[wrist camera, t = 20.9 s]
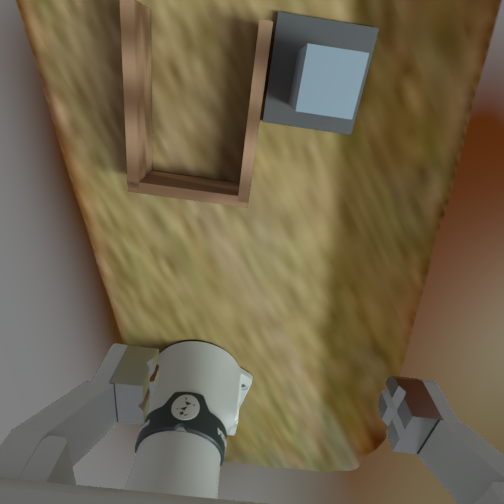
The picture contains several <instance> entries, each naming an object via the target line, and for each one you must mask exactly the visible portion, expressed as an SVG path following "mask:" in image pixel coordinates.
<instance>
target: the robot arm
mask: <svg viewBox="0 0 504 504" xmlns="http://www.w3.org/2000/svg"><path fill="white" fill-rule="evenodd" d="M252 379H253V377H252V375H251V374H250V373H248V372H247V371H245V370H244V369H242V368H241V367H240V366H239V365H238V364H237V362H236V361H235V360H234V358H233V357H232V356H231V355H230V354H229V353H227V352H226V351H225V350H223V349H221V348H219V347H217V346H215V345H212V344H209V343H205V342H198V341H187V342H181V343H177V344H174V345H172V346H170V347H168V348H166V349H165V350H164V351H162V352H161V353H160V354H159V349H155V348H148V347H141V346H134V345H125V344H118V343H114V344H113V345H112V346H111V347H110V349H109V351H108V353H107V355H106V356H105V358H104V360H103V362H102V363H101V365H100V367H99V369H98V371H97V372H96V374H95V376H94V378H93V379H92V381H86V382H85V383H83V384H81V385H80V386H78V387H77V388H75V389H74V390H72V391H71V392H69V393H68V394H66V395H65V396H63V397H61V398H60V399H58V400H57V401H55V402H54V403H52V404H51V405H49V406H48V407H46V408H45V409H43V410H41V411H40V412H38V413H37V414H35V415H34V416H32V417H31V418H29V419H28V420H26V421H24V422H23V423H21V424H20V425H18V426H17V427H16V428H14V429H12V430H11V431H10V433H9V434H8V436H7V437H6V438H5V440H4V441H3V443H2V444H1V445H0V504H265V503H254V502H245V501H235V500H224V499H218V483H219V471H220V467H221V465H222V463H223V460H224V455H225V451H226V437H227V435H231V436H233V435H235V432H236V428H237V424H238V420H239V417H238V414H239V408H240V406H241V404H242V402H243V400H244V398H245V396H246V394H247V392H248V390H249V388H250V386H251V384H252ZM386 385H387V389H385V390H383V391H382V392H381V394H380V396H379V402H378V408H379V413H380V416H381V419H382V421H383V422H384V423H385V424H386V425H387V426H388V428H387V431H386V433H387V436H388V439H389V442H390V444H391V447H392V450H393V451H396V452H404V453H411V454H418V457H419V458H420V459H421V460H422V462H423V463H424V464H425V465H426V466H427V467H428V469H429V470H430V471H431V472H432V473H433V475H434V476H435V477H436V478H437V479H438V481H439V482H440V483H441V484H442V485H443V486H444V488H445V489H446V490H447V491H448V492H449V494H450V495H451V496H452V497H453V498H454V500H455V501H456V502H457V503H458V504H504V455H502V454H501V453H500V452H499V451H498V450H496V449H495V448H494V447H493V446H492V445H490V444H489V443H488V442H487V441H485V440H484V439H483V438H482V437H481V436H479V435H478V434H477V433H476V432H474V431H473V430H472V429H471V428H470V427H468V426H467V425H466V424H465V423H460V422H459V420H458V419H457V417H456V415H455V414H454V412H453V410H452V408H451V407H450V405H449V403H448V402H447V400H446V398H445V396H444V395H443V393H442V391H441V390H440V388H439V386H438V385H437V383H436V382H435V381H433V380H425V379H417V378H407V377H398V376H390V377H389V378H388V379H387V381H386ZM117 422H118V423H130V424H142V426H141V428H140V430H139V433H138V436H137V442H136V445H135V453H136V455H135V458H134V461H133V464H132V467H131V470H130V473H129V476H128V479H127V482H126V485H125V488H124V490H122V489H112V488H102V487H92V486H82V485H76V481H75V477H74V472H73V466H74V465H75V464H76V463H77V462H78V461H79V460H80V459H81V458H82V457H83V456H84V455H85V454H86V453H87V452H89V450H91V449H92V447H94V446H95V445H96V444H97V443H98V442H99V441H100V440H101V439H102V438H103V437H104V436H105V435H106V434H107V433H108V432H109V431H111V429H113V428H114V426H116V425H117Z"/></svg>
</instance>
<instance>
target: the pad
mask: <svg viewBox="0 0 504 504" xmlns="http://www.w3.org/2000/svg"><path fill="white" fill-rule="evenodd" d="M378 31H379V28H375V27H369V26H363V25H357V24H350V23H344V22H338V21H332V20H326V19H320V18H314V17H308V16H301V15H295V14H289V13H283V12H278V16H277V23H276V30H275V37H274V44H273V51H272V58H271V66H270V73H269V80H268V87H267V94H266V101H265V108H264V115H263V122H268V123H275V124H281V125H288V126H295V127H302V128H308V129H315V130H322V131H328V132H335V133H342V134H349V135H351V133H352V129H353V126H354V122H355V118H356V114H357V111H358V107H359V103H360V99H361V95H362V92H363V88H364V84H365V80H366V77H367V73H368V69H369V65H370V61H371V58H372V54H373V50H374V46H375V43H376V39H377V35H378ZM308 43H309V44H315V45H321V46H328V47H334V48H340V49H347V50H353V51H359V52H366V53H369V57H368V61H367V65H366V68H365V72H364V76H363V80H362V84H361V88H360V91H359V95H358V99H357V103H356V107H355V111H354V115H353V118H352V120H351V119H344V118H338V117H331V116H324V115H317V114H311V113H304V112H297V111H295V110H294V109H293V108H291V107H290V106H289V100H290V94H291V88H292V82H293V76H294V70H295V65H296V59H297V53H298V51H299V50H300V49H301V48H302V47H304V46H305V45H306V44H308Z"/></svg>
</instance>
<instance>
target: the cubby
mask: <svg viewBox="0 0 504 504" xmlns="http://www.w3.org/2000/svg"><path fill="white" fill-rule="evenodd" d="M120 22H121V45H122V68H123V90H124V113H125V136H126V159H127V181H128V192H135V193H143V194H150V195H157V196H164V197H172V198H179V199H186V200H194V201H201V202H208V203H215V204H223V205H230V206H237V207H245V208H248V202H249V195H250V187H251V180H252V173H253V165H254V158H255V151H256V144H257V136H258V129H259V122H260V114H261V107H262V100H263V92H264V85H265V78H266V71H267V63H268V56H269V49H270V41H271V34H272V27H273V21H268V20H262V19H259V27H258V36H257V44H256V52H255V61H254V69H253V77H252V86H251V94H250V102H249V110H248V119H247V127H246V135H245V144H244V152H243V160H242V169H241V177H240V183H235V182H228V181H221V180H214V179H207V178H200V177H193V176H186V175H178V174H171V173H164V172H157V171H152V60H151V9H149V8H147V7H146V6H144V5H143V4H141V3H139V2H138V1H136V0H120Z"/></svg>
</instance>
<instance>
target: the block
mask: <svg viewBox="0 0 504 504" xmlns="http://www.w3.org/2000/svg"><path fill="white" fill-rule="evenodd" d="M368 57H369V53H366V52H359V51H353V50H347V49H340V48H334V47H328V46H321V45H315V44H309V43H308V44H306V45H305V46H304V47H302V48H301V49H300V50H299V51H298V53H297V59H296V65H295V70H294V76H293V82H292V88H291V94H290V100H289V106H290V107H291V108H293V109H294V110H295V111H297V112H304V113H311V114H317V115H324V116H331V117H338V118H344V119H351V120H352V118H353V115H354V111H355V107H356V103H357V99H358V95H359V91H360V88H361V84H362V80H363V76H364V72H365V68H366V65H367V61H368Z"/></svg>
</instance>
